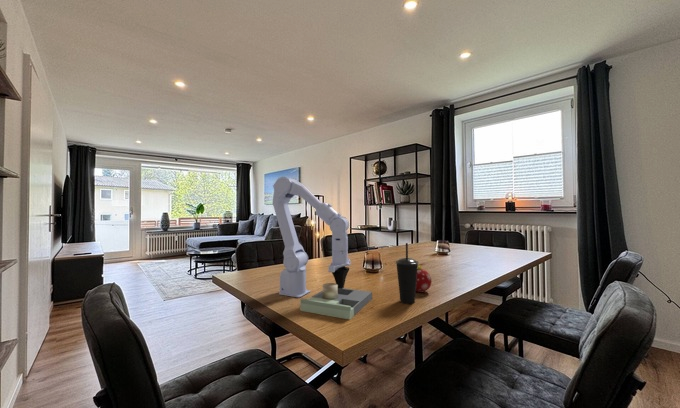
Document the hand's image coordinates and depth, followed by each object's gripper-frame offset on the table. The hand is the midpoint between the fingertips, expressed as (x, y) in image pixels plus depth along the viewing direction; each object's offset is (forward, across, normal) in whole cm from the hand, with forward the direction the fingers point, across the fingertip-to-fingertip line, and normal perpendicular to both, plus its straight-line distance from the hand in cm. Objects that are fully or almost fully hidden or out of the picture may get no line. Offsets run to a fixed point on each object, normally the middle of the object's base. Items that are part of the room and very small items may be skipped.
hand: (340, 287), depth 101 cm
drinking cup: (+3, +5, -23) cm, 24 cm away
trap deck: (+3, -7, -2) cm, 8 cm away
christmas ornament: (+3, +18, -25) cm, 31 cm away
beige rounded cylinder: (+1, -8, 0) cm, 8 cm away
